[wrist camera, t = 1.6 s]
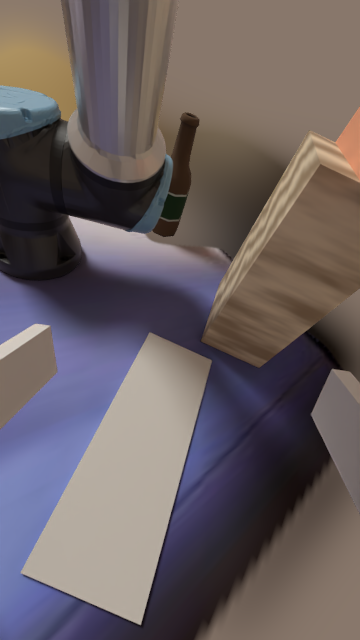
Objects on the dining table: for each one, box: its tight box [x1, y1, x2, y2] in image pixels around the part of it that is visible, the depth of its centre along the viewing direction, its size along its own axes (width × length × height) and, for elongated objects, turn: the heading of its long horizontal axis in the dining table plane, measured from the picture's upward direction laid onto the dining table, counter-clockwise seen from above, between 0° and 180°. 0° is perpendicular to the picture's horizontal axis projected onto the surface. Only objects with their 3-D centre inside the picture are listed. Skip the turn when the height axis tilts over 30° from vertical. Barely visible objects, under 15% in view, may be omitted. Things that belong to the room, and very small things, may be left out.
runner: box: [21, 332, 212, 625], centre depth 31 cm, size 30×12×1 cm, turn 161°
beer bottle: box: [152, 112, 199, 237], centre depth 53 cm, size 8×8×24 cm
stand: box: [201, 130, 360, 368], centre depth 38 cm, size 18×12×30 cm, turn 161°
